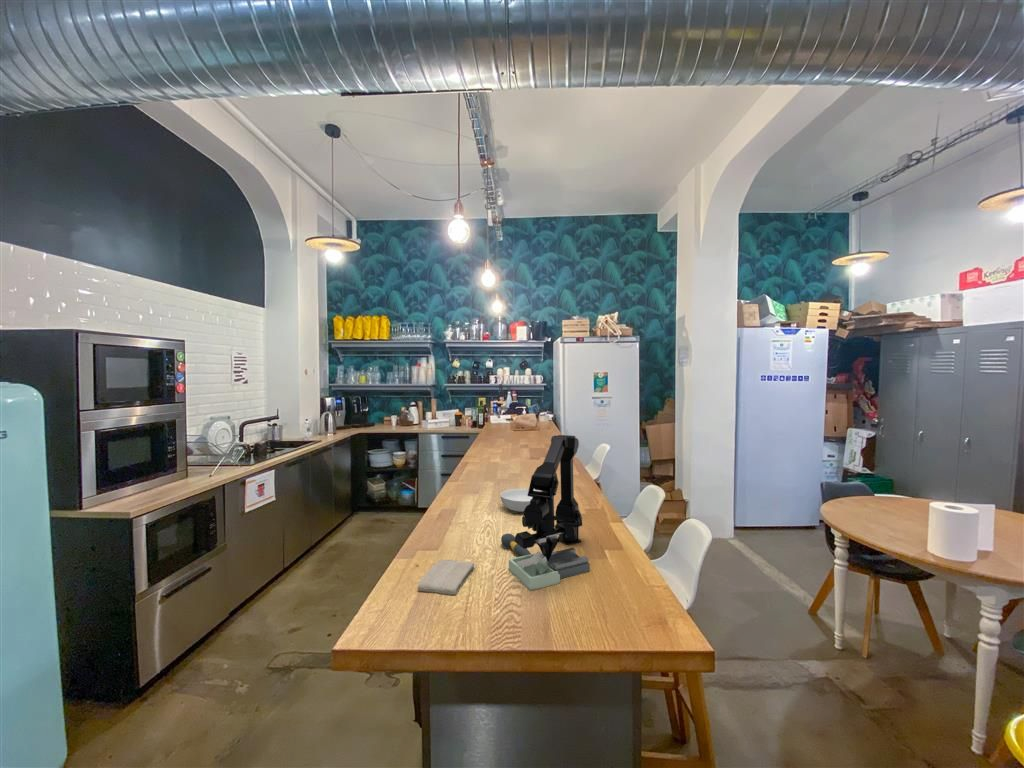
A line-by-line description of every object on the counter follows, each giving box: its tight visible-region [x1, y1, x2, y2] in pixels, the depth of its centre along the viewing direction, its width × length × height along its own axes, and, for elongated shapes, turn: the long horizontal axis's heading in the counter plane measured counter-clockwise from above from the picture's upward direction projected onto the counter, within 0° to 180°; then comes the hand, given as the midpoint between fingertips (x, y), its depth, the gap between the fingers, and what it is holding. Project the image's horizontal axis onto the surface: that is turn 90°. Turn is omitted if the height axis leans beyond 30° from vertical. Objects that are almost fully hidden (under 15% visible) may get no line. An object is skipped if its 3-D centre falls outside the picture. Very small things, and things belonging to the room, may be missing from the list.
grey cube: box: [530, 551, 550, 575], centre depth 129 cm, size 4×4×4 cm
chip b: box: [517, 559, 536, 577], centre depth 127 cm, size 4×4×4 cm
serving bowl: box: [500, 488, 541, 513], centre depth 191 cm, size 21×21×7 cm
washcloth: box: [417, 558, 475, 596], centre depth 126 cm, size 12×18×3 cm, turn 168°
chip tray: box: [508, 553, 561, 592], centre depth 128 cm, size 10×14×4 cm
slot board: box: [548, 547, 591, 580], centre depth 133 cm, size 12×10×4 cm
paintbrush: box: [500, 533, 532, 557], centre depth 145 cm, size 20×5×5 cm, turn 37°
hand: (546, 561), depth 130 cm, fingers closed, pressing on grey cube
